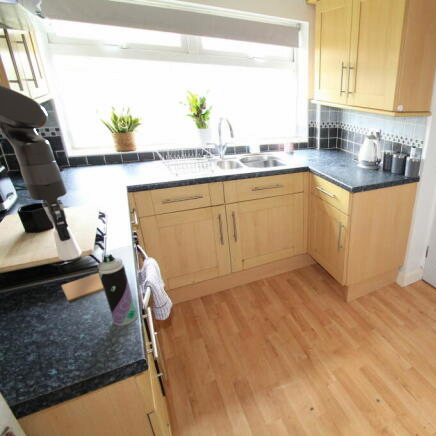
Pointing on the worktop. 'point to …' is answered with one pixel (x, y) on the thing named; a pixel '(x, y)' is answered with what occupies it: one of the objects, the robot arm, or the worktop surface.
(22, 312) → the worktop surface
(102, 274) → the spray can
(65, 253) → the pepper shaker
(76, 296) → the cork mat
